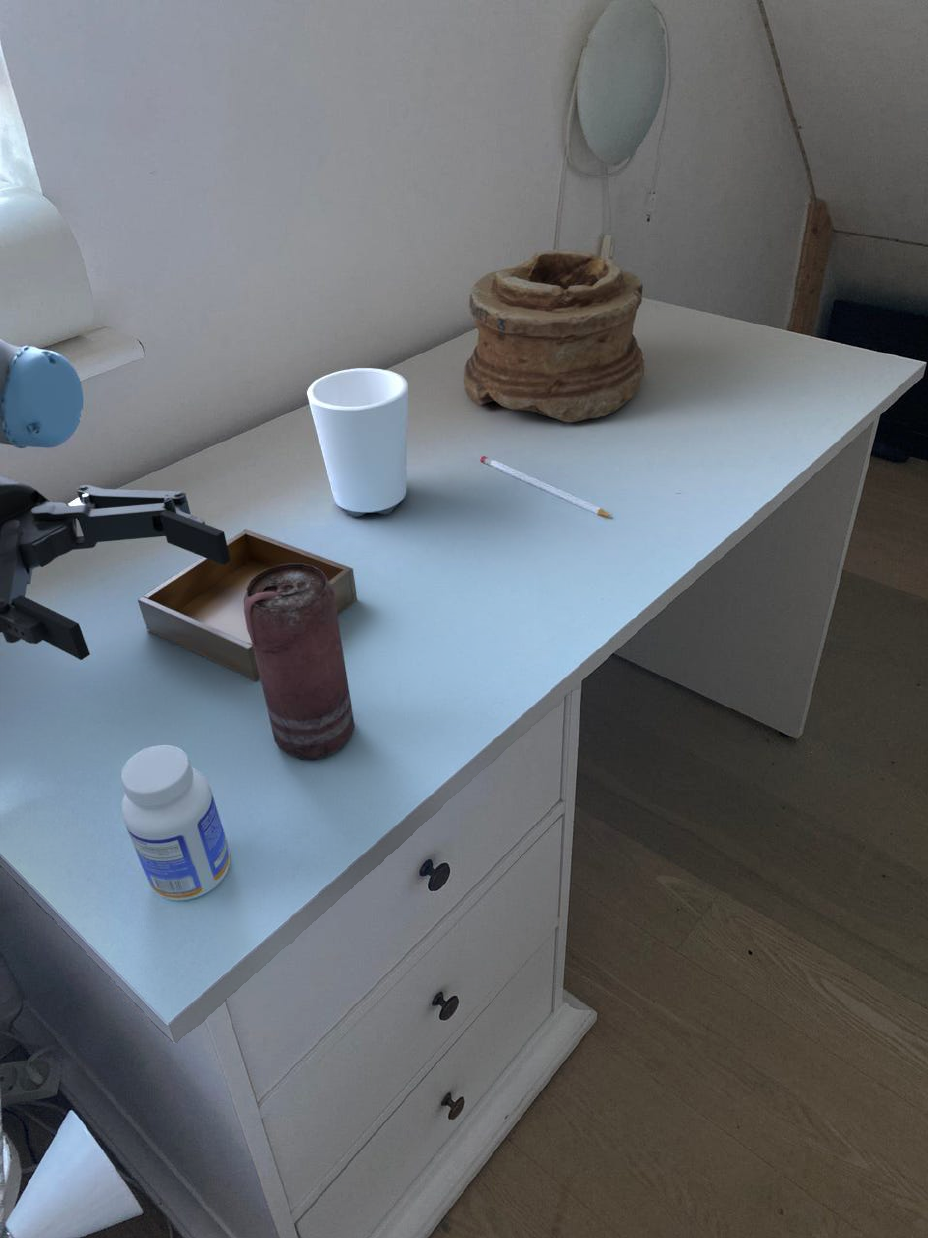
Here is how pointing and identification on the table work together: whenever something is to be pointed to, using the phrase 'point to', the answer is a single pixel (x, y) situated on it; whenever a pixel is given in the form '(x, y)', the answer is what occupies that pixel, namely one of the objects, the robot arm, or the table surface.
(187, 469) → the table surface
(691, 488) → the table surface
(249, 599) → the can
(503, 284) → the container
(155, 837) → the pill bottle
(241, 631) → the tray
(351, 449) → the cup
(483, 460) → the pencil
